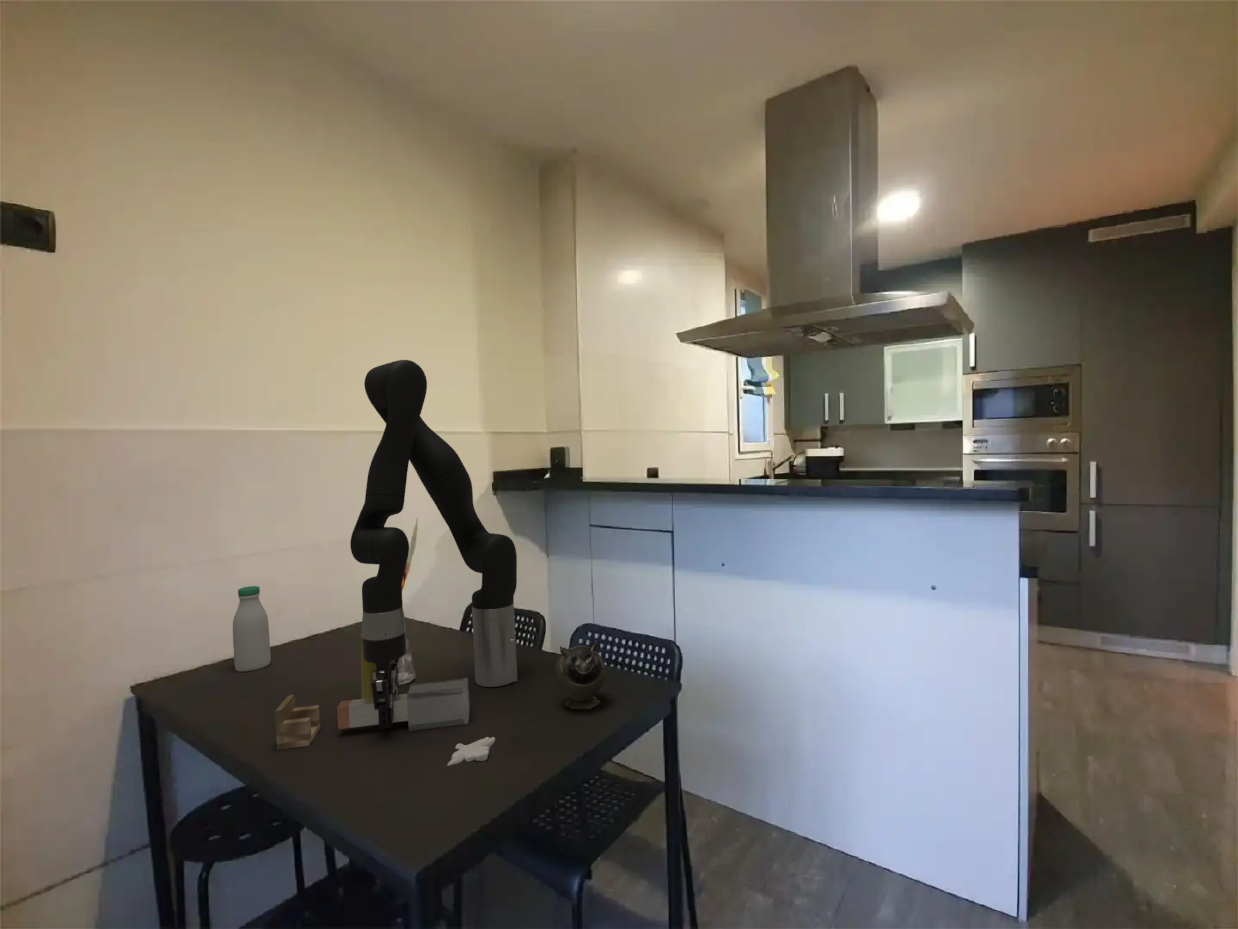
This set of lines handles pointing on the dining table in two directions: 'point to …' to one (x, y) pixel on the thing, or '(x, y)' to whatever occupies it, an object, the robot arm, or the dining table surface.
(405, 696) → the white orange-tipped bar
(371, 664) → the vase
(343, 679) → the dining table surface
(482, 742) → the acanthus leaf ornament
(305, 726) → the socket
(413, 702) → the sleeve
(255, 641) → the milk bottle
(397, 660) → the robot arm
